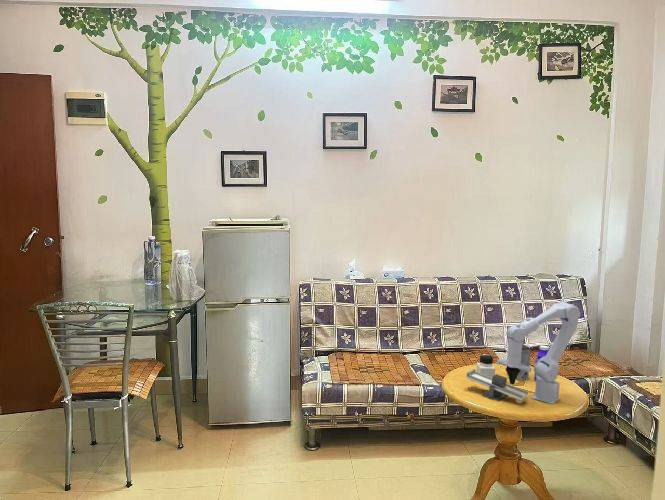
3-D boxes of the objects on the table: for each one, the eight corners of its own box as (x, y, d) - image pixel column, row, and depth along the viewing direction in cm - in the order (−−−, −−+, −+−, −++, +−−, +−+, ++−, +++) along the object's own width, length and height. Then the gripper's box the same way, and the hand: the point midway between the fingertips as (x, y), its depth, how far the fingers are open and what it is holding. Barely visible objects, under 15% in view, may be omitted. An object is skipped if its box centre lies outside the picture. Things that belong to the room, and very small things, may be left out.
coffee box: (506, 374, 265) (508, 342, 262) (517, 372, 266) (519, 341, 264) (517, 380, 256) (520, 348, 254) (529, 379, 258) (531, 347, 256)
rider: (505, 386, 236) (507, 378, 235) (501, 388, 233) (503, 380, 232) (495, 382, 239) (496, 374, 238) (491, 384, 236) (492, 376, 235)
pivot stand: (508, 394, 239) (509, 382, 238) (499, 401, 231) (500, 389, 230) (491, 389, 244) (492, 378, 243) (482, 396, 236) (482, 384, 236)
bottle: (531, 379, 258) (534, 344, 256) (540, 378, 260) (543, 343, 258) (542, 384, 251) (545, 349, 249) (551, 383, 253) (554, 348, 251)
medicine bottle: (494, 382, 253) (496, 358, 251) (479, 382, 253) (481, 357, 251) (490, 377, 260) (492, 353, 258) (475, 376, 260) (477, 352, 258)
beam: (526, 400, 232) (528, 389, 231) (520, 404, 227) (522, 394, 226) (472, 378, 248) (473, 368, 247) (465, 382, 243) (467, 372, 242)
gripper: (494, 352, 232) (492, 381, 233) (527, 360, 222) (525, 390, 224) (501, 348, 237) (499, 377, 239) (533, 356, 228) (531, 386, 229)
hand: (512, 383), depth 232 cm, fingers closed
